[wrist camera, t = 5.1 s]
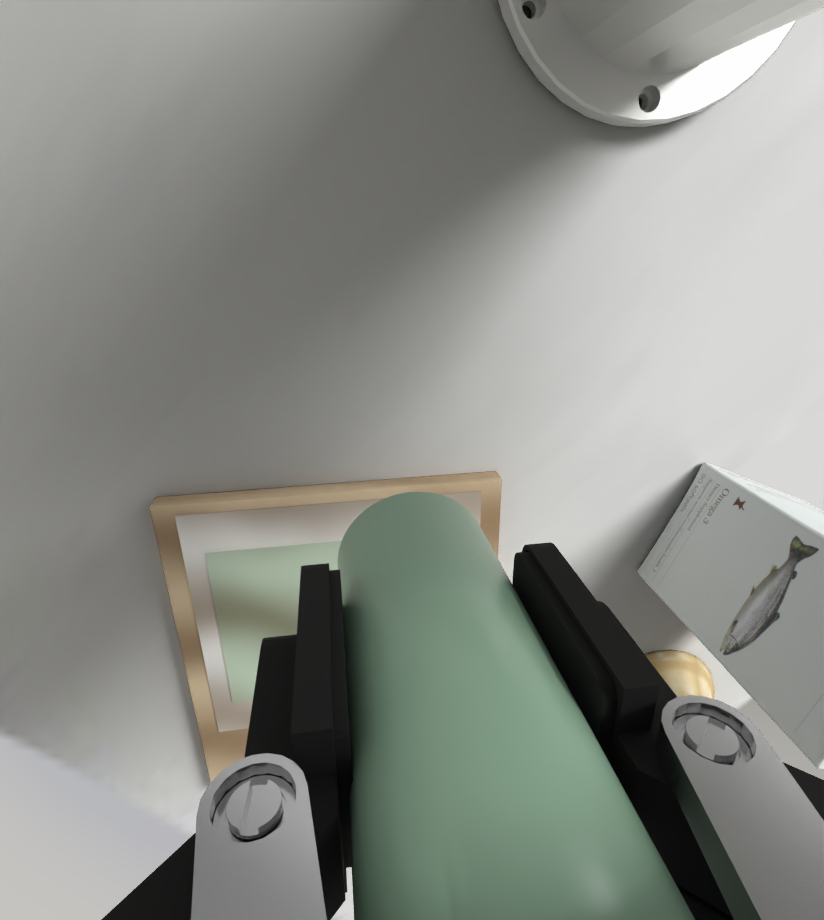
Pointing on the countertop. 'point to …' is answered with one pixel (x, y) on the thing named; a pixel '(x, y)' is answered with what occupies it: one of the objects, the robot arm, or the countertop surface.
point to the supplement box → (751, 593)
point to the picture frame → (265, 578)
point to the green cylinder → (473, 742)
